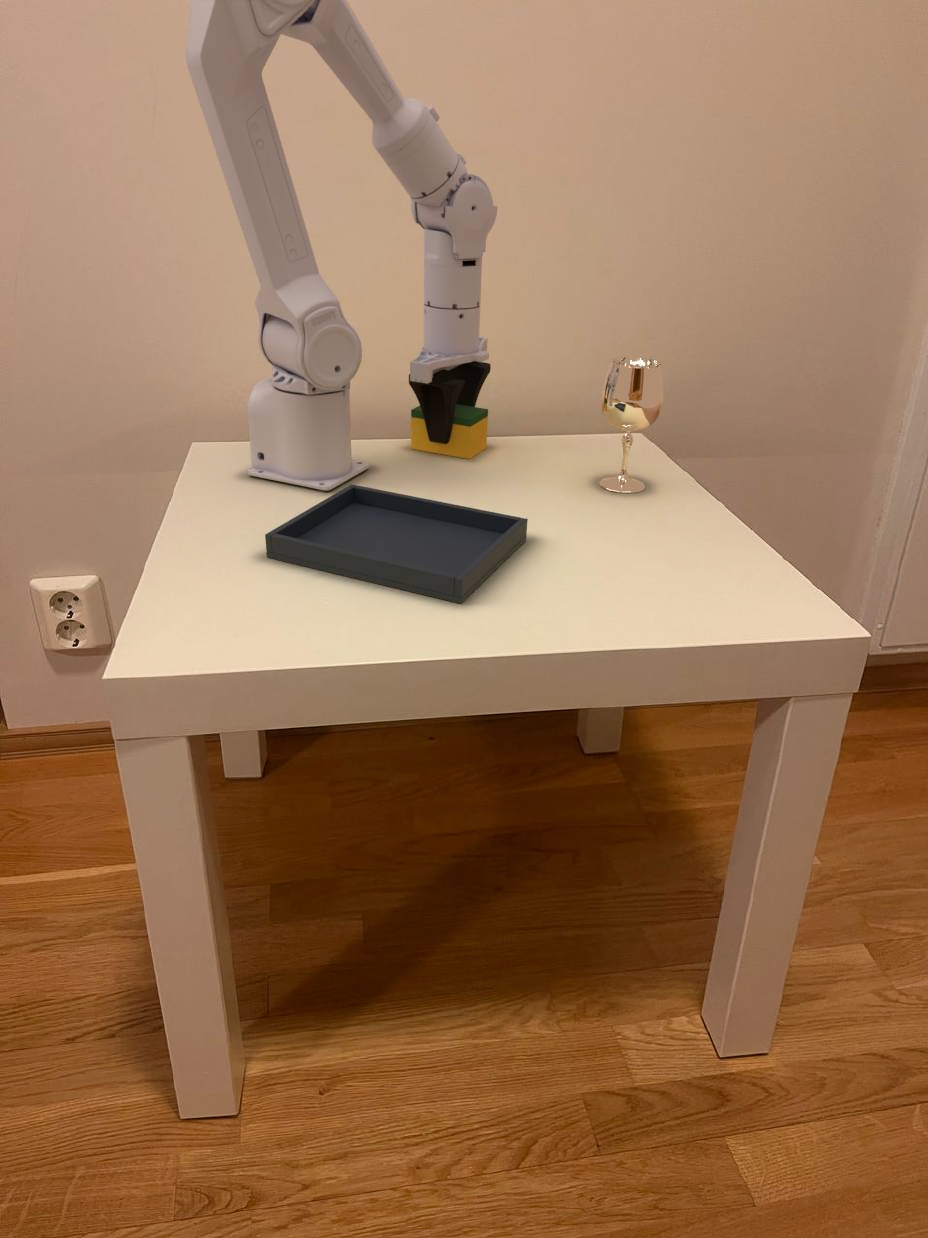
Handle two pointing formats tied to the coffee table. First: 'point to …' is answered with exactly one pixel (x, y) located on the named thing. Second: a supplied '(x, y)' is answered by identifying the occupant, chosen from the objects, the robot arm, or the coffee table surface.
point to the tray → (399, 541)
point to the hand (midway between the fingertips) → (449, 435)
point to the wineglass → (631, 408)
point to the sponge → (453, 433)
